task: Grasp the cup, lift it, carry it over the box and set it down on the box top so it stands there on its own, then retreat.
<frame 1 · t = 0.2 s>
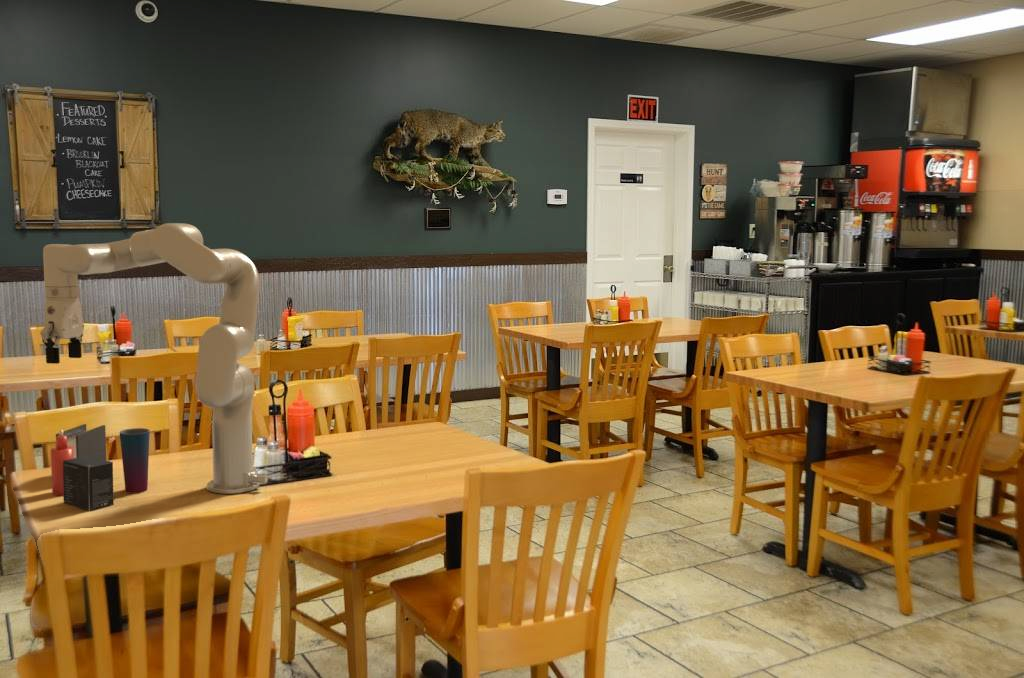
hand: (64, 360, 224), 31 cm above the table, fingers open, 9 cm apart
box: (89, 504, 208), on the table
napkin holder: (82, 476, 230), on the table
cup: (136, 491, 219), on the table
ketchup bottle: (63, 492, 216), on the table
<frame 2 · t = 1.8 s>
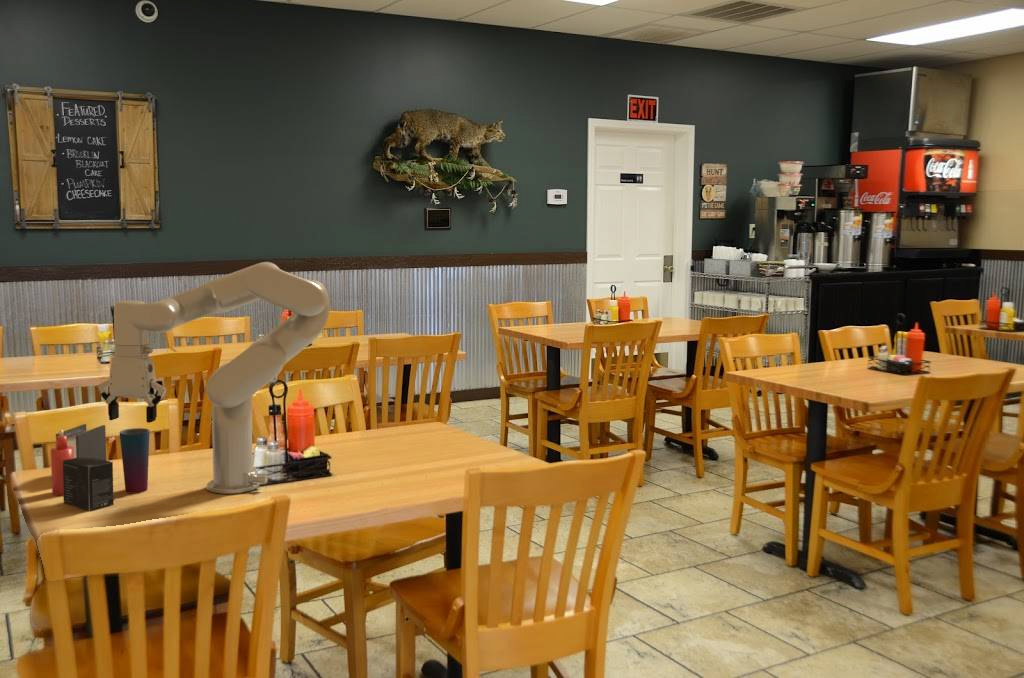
hand: (132, 420, 217), 18 cm above the table, fingers open, 9 cm apart
nothing on the table moved.
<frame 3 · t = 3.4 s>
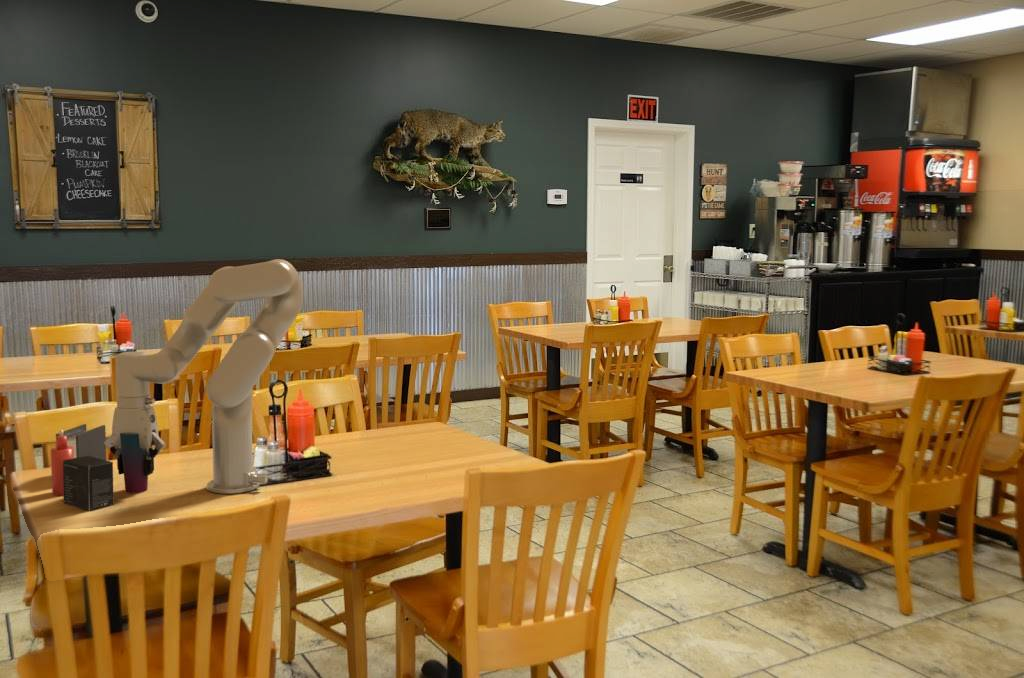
hand: (135, 473, 218), 4 cm above the table, fingers closed on cup, 6 cm apart
cup: (136, 491, 219), on the table, touching gripper
everything else where it was.
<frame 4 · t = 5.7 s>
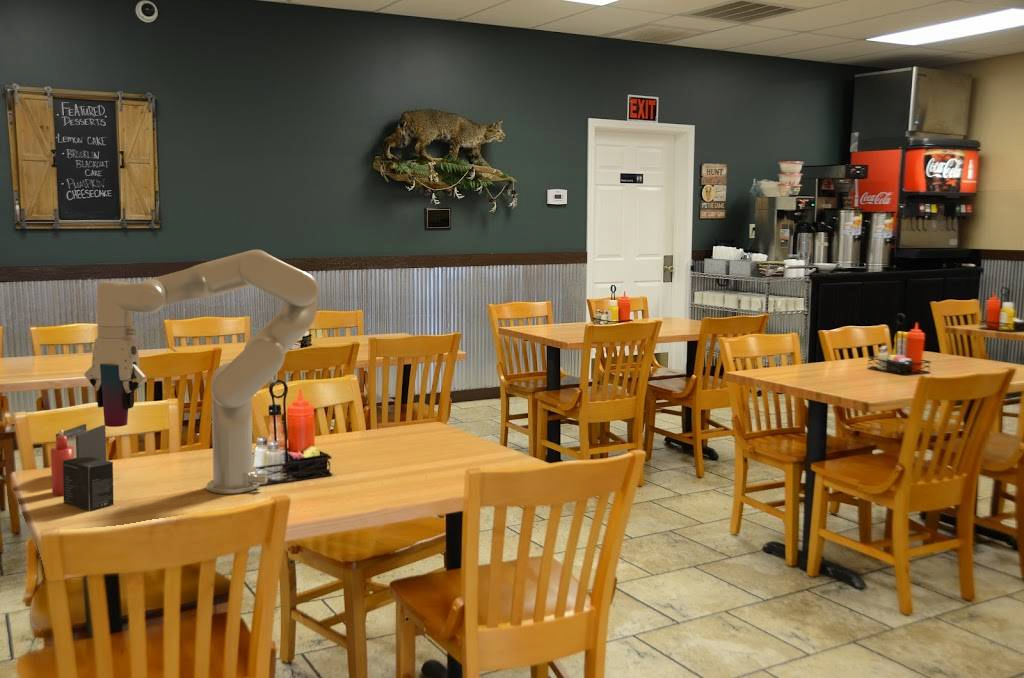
hand: (115, 406, 212), 22 cm above the table, fingers closed on cup, 6 cm apart
cup: (116, 425, 213), point 17 cm above the table, touching gripper
everything else where it was.
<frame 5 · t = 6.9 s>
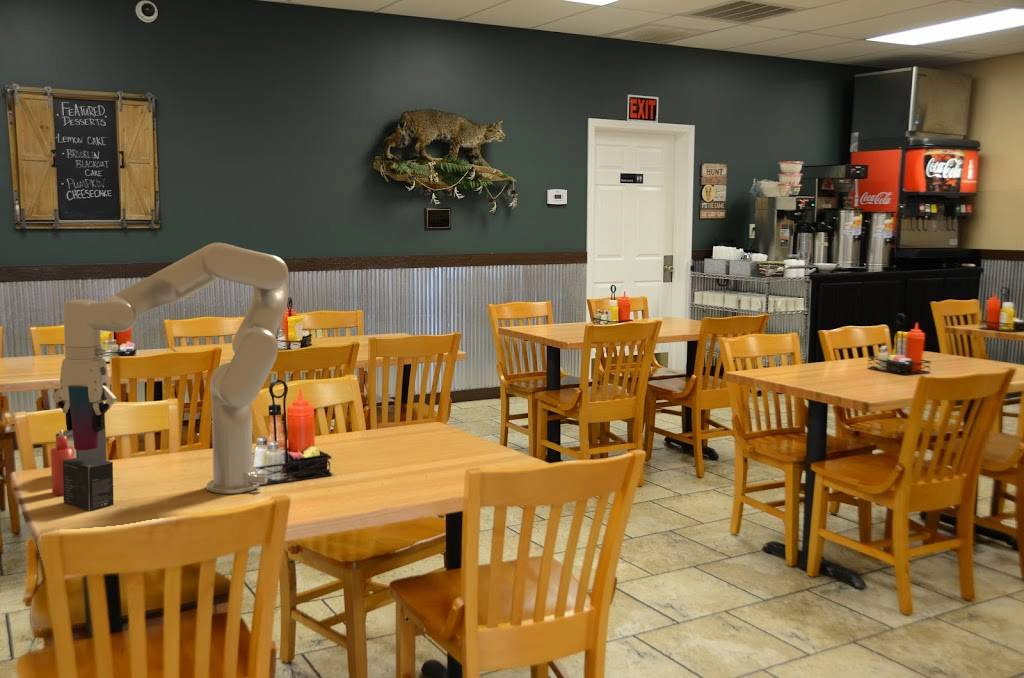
hand: (85, 429, 205), 18 cm above the table, fingers closed on cup, 6 cm apart
cup: (86, 448, 206), point 13 cm above the table, touching gripper
everything else where it was.
when the fingers open (15 cm above the table, at t = 7.8 s): cup stays where it is, resting on box.
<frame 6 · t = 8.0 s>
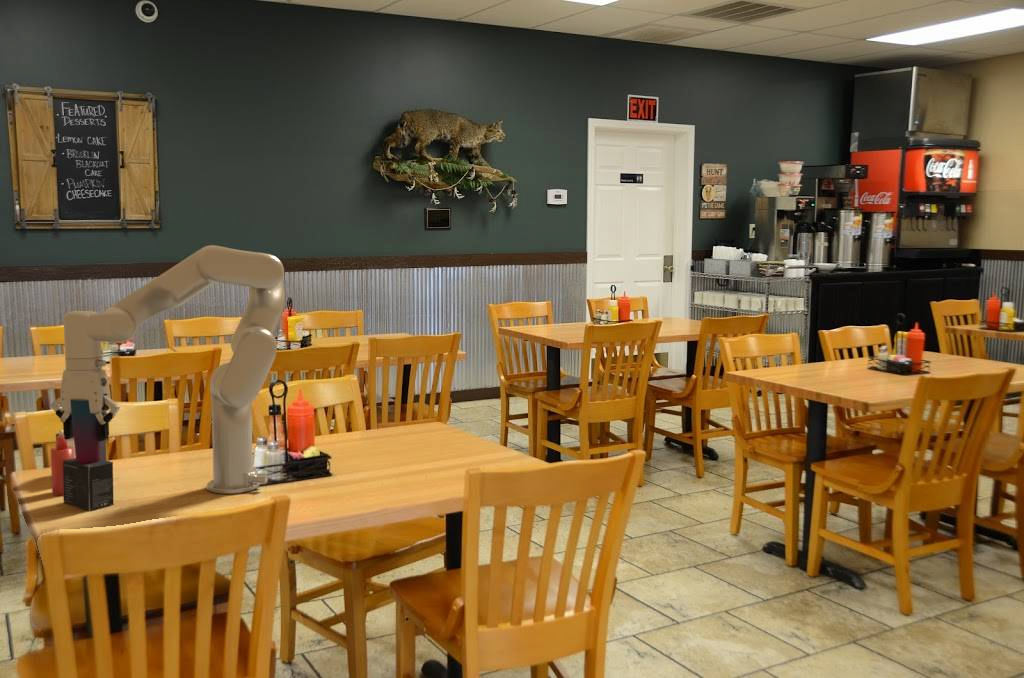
hand: (86, 438, 206), 16 cm above the table, fingers open, 7 cm apart
box: (89, 504, 208), on the table, touching cup
cup: (88, 461, 207), point 10 cm above the table, touching box
everything else where it was.
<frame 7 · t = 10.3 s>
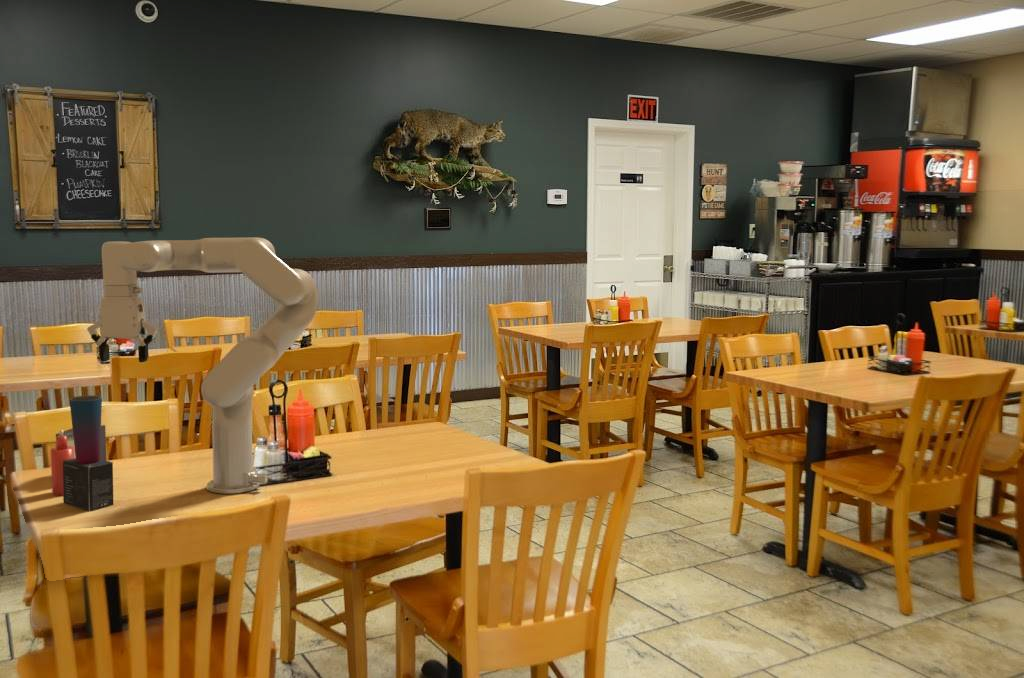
hand: (124, 361, 218), 32 cm above the table, fingers open, 9 cm apart
nothing on the table moved.
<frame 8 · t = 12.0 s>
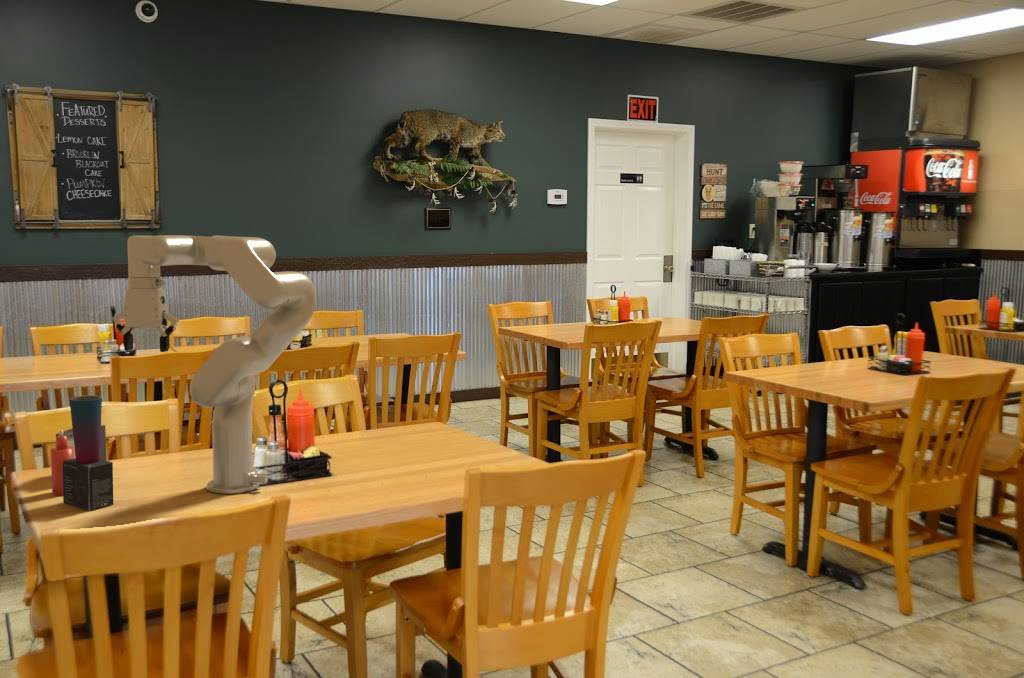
hand: (146, 350, 227), 33 cm above the table, fingers open, 9 cm apart
nothing on the table moved.
at the end: cup inside the target area on the box (0.1 cm from its centre), point 10.4 cm above the box's base; cup tilted 0°; cup touching box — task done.
